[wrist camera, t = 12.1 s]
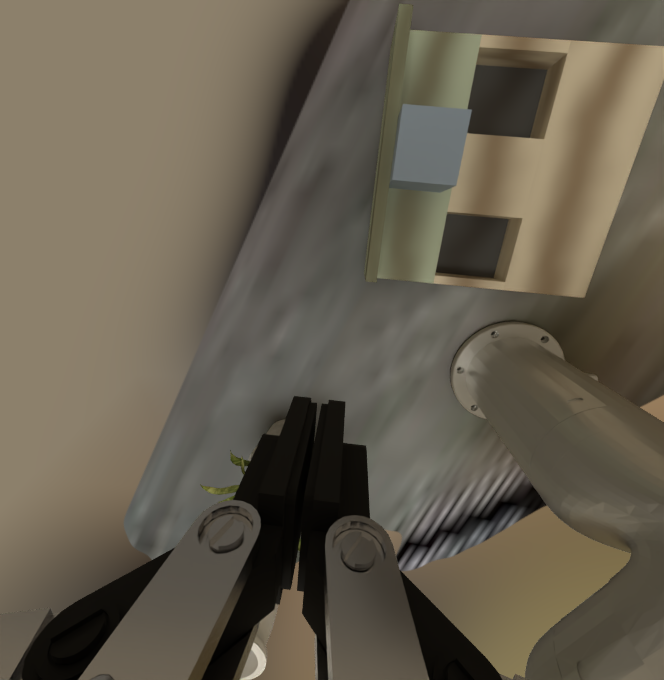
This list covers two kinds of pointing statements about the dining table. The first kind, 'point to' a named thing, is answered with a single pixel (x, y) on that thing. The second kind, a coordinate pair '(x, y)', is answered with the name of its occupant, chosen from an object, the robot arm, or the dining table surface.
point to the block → (428, 147)
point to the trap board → (512, 158)
